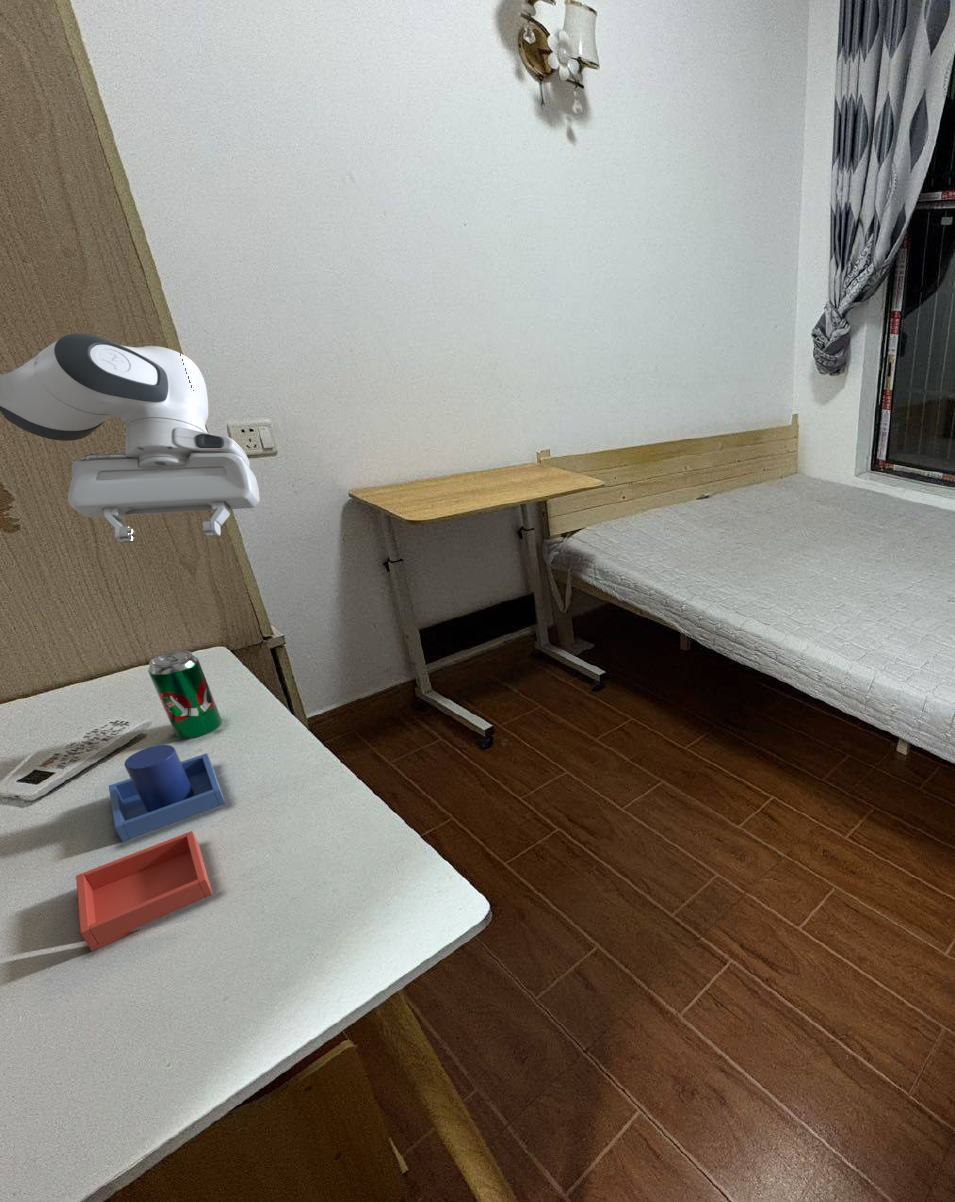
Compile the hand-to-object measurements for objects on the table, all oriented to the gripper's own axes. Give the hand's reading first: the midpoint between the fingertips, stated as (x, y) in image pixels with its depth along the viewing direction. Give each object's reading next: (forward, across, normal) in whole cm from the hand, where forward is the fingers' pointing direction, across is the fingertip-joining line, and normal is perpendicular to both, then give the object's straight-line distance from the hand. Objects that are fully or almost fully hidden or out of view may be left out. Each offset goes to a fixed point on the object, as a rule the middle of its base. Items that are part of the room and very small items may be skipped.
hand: (169, 537), depth 92 cm
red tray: (+49, +4, -14) cm, 51 cm away
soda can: (+26, 0, +9) cm, 28 cm away
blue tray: (+38, +1, -3) cm, 38 cm away
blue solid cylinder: (+37, +1, -3) cm, 38 cm away
